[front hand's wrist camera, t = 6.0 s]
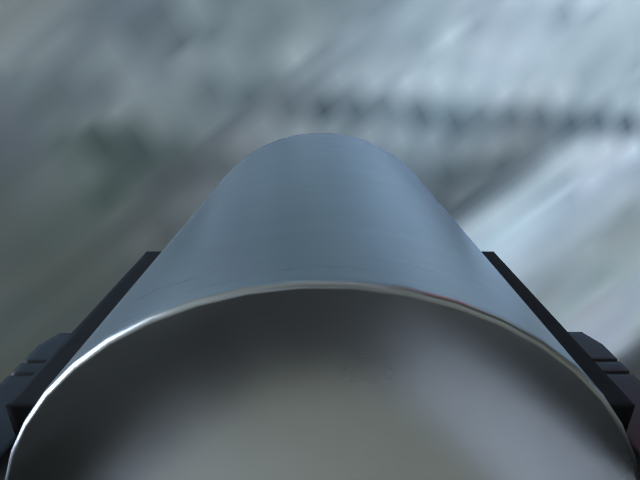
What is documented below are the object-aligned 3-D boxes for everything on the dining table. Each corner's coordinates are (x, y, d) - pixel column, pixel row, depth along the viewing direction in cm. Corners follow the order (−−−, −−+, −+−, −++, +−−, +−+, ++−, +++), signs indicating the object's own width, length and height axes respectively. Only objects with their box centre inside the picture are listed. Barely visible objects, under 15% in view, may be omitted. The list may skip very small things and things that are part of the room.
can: (169, 159, 15) (-138, 353, 5) (428, 109, 15) (679, 214, 4) (235, 368, 19) (131, 744, 8) (450, 335, 18) (623, 696, 8)
